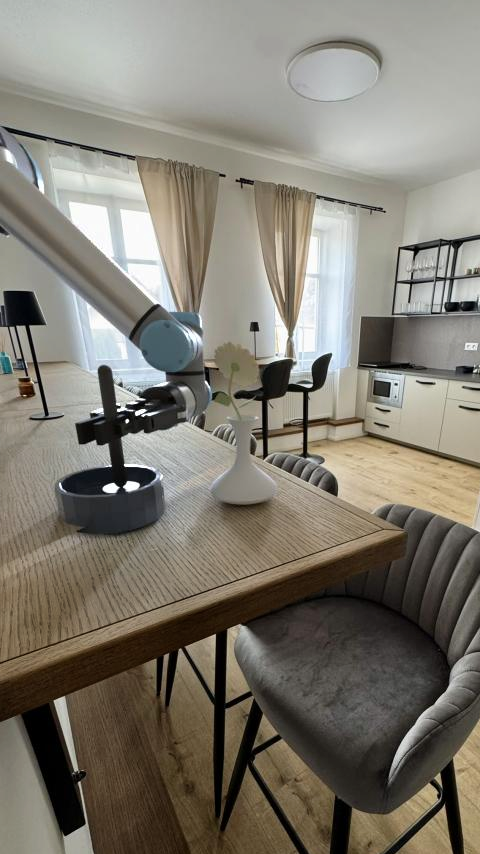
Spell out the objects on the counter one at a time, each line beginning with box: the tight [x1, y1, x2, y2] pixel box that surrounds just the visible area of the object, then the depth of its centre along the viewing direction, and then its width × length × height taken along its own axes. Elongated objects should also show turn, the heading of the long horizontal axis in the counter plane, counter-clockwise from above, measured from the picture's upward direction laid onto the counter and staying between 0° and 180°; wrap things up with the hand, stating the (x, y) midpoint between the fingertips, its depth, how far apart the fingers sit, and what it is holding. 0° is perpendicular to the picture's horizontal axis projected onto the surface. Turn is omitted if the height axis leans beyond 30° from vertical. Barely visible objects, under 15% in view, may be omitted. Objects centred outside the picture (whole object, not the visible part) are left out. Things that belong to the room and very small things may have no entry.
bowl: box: [53, 464, 166, 535], centre depth 61 cm, size 15×15×6 cm
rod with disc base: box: [97, 364, 140, 495], centre depth 57 cm, size 5×5×20 cm
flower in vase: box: [209, 341, 278, 506], centre depth 66 cm, size 13×11×25 cm
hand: (88, 434), depth 52 cm, fingers closed on rod with disc base, 2 cm apart
